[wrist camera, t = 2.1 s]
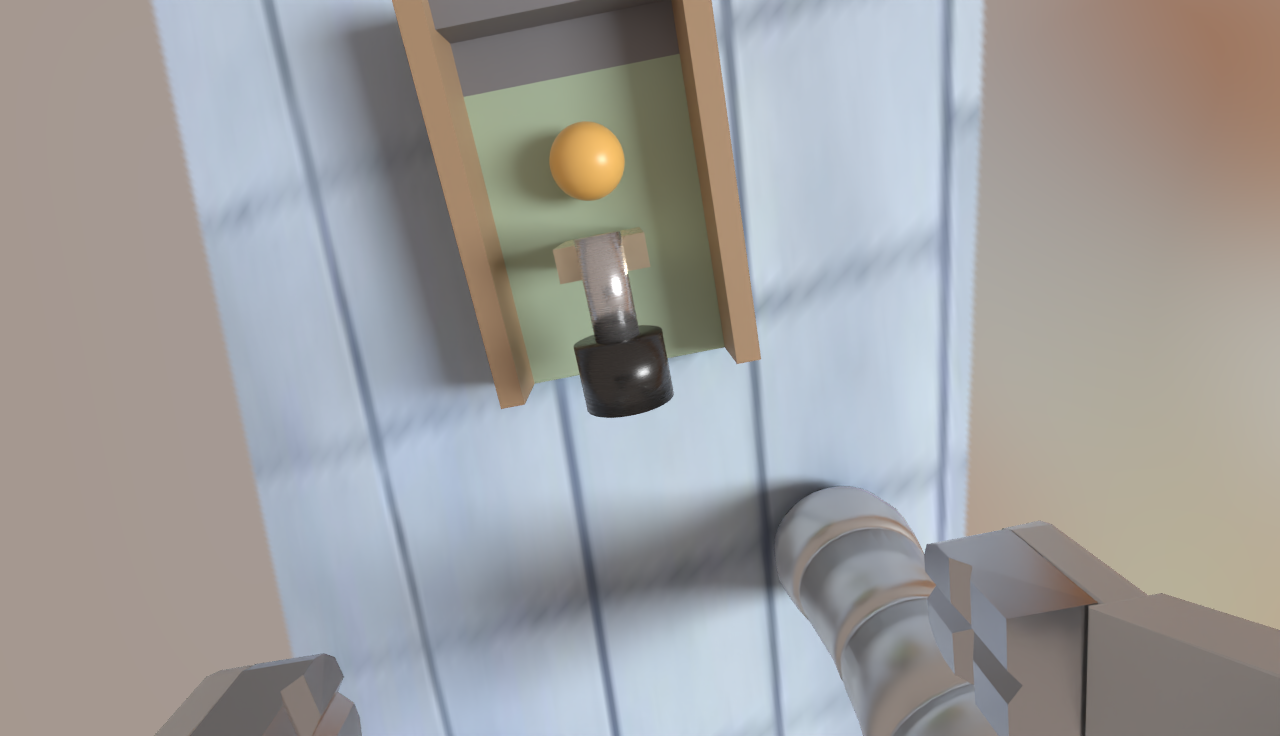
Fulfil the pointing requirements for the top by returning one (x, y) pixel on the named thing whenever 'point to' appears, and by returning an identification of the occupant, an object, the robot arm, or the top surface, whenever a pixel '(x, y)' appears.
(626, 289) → the glass stem black base
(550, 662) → the top surface
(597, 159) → the ball
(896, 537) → the plastic bottle
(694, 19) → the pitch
